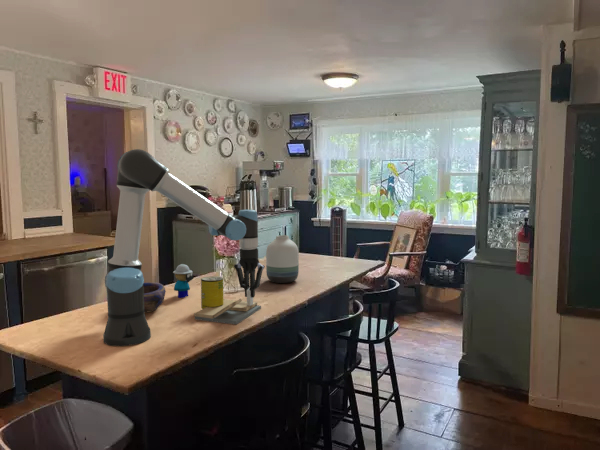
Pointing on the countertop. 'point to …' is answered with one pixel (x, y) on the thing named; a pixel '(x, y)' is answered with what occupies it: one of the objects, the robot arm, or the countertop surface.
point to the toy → (183, 280)
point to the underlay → (225, 314)
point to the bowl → (153, 296)
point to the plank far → (243, 306)
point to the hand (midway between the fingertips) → (250, 304)
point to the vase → (282, 260)
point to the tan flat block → (227, 308)
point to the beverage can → (211, 292)
